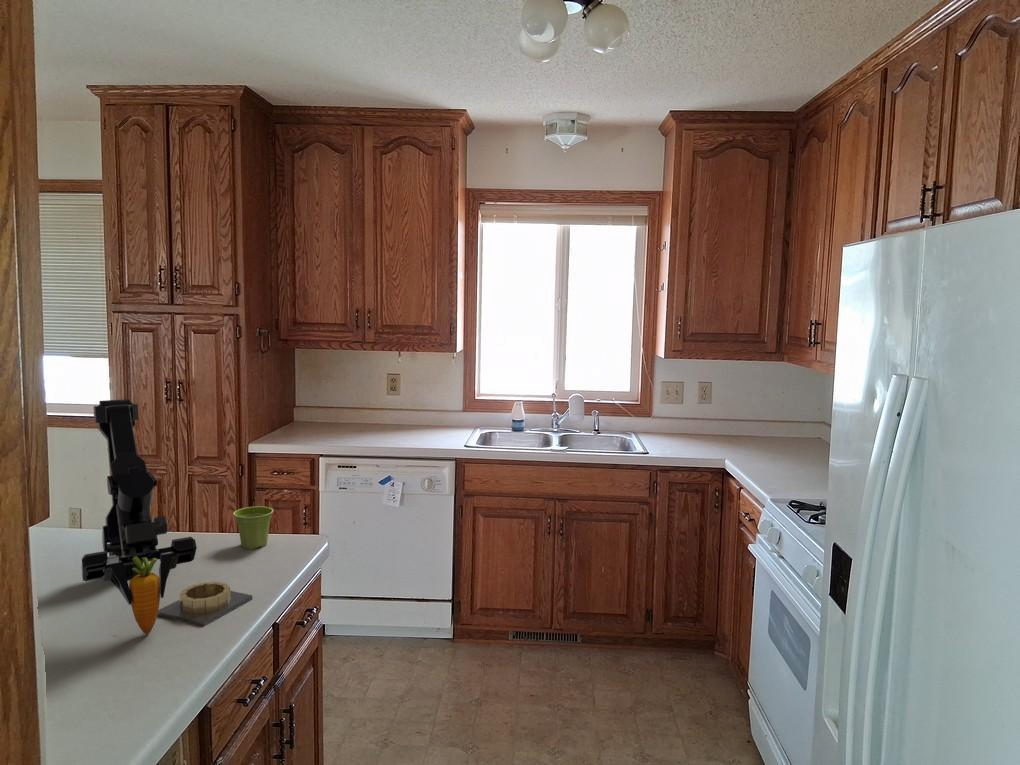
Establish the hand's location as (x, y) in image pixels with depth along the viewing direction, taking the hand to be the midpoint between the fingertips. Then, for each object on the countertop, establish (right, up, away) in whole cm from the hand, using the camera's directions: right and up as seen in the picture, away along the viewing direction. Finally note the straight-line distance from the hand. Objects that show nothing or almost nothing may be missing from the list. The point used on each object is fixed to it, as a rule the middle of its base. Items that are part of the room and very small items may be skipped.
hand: (146, 600), depth 126 cm
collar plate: (+5, -6, +14) cm, 15 cm away
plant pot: (+2, -2, +49) cm, 49 cm away
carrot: (-1, -7, +2) cm, 7 cm away
